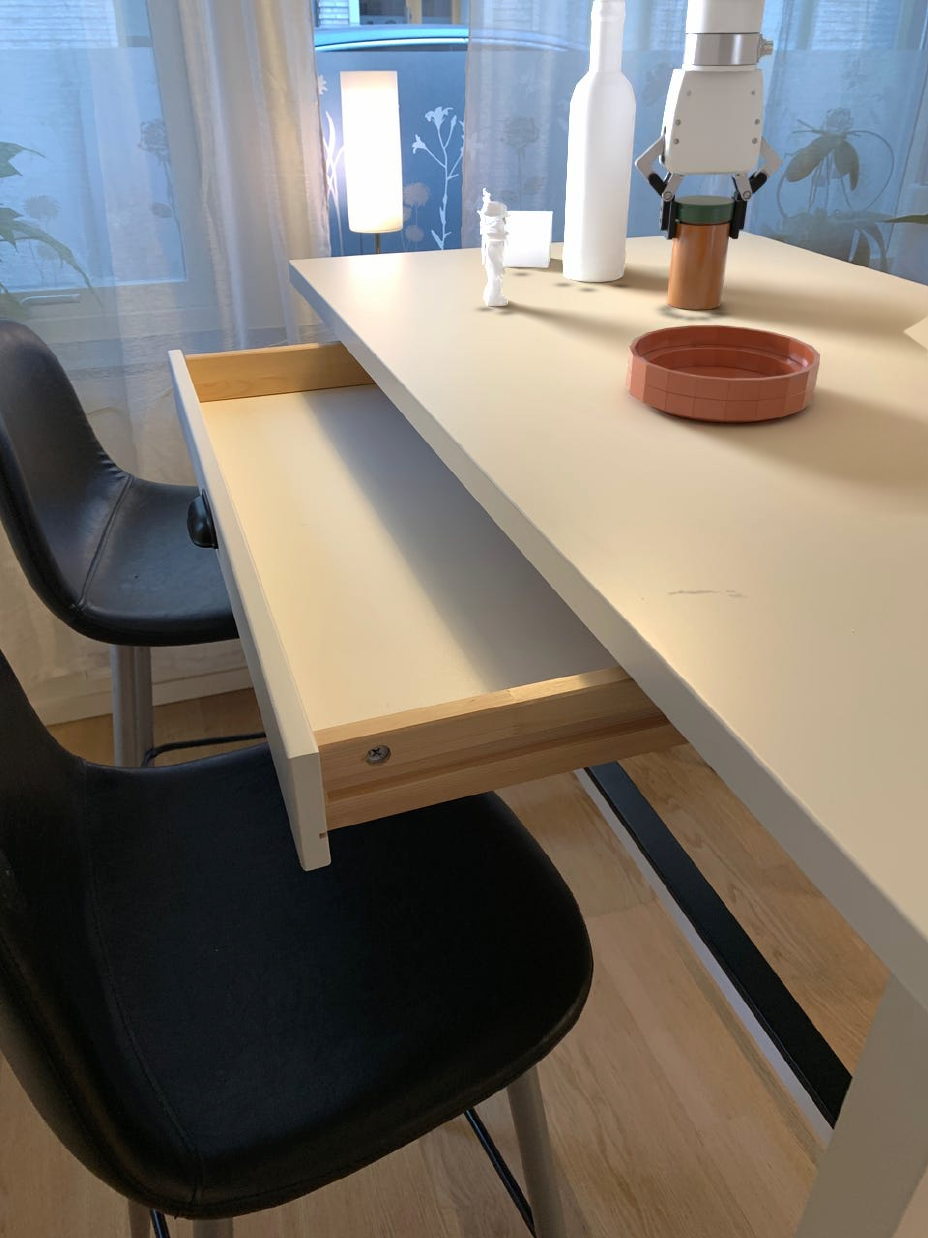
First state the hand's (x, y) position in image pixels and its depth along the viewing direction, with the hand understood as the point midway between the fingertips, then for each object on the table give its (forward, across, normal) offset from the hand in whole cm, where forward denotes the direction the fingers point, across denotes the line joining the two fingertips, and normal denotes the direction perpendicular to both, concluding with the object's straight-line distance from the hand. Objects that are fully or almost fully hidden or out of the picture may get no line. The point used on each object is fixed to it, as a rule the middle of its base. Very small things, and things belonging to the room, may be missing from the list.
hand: (700, 235), depth 110 cm
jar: (+7, 0, 0) cm, 7 cm away
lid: (-3, 0, 0) cm, 3 cm away
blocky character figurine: (+8, +23, -1) cm, 24 cm away
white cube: (+8, +18, -22) cm, 29 cm away
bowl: (+7, +4, +32) cm, 33 cm away
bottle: (+8, +10, -14) cm, 19 cm away
